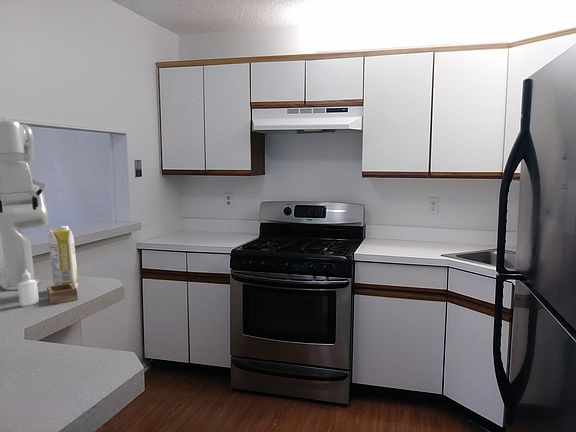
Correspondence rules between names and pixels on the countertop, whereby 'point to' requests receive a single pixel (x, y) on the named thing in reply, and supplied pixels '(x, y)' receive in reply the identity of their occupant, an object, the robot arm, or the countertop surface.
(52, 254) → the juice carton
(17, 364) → the countertop surface
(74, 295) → the bottle holder
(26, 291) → the eye dropper bottle
